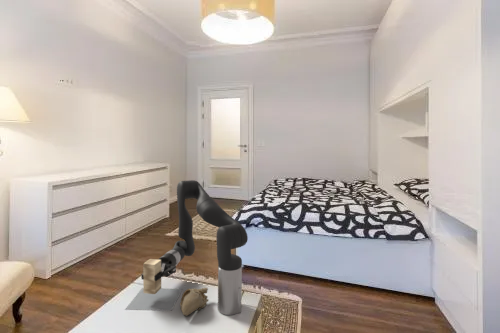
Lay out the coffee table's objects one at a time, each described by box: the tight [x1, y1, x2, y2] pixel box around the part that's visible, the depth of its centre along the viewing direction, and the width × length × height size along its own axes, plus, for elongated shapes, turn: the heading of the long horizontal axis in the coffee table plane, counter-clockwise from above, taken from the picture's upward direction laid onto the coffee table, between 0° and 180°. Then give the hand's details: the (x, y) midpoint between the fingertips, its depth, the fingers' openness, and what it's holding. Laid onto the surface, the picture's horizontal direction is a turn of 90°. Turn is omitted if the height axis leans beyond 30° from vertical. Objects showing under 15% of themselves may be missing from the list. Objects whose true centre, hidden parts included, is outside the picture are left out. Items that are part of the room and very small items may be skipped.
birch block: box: [142, 258, 162, 294], centre depth 107 cm, size 5×5×12 cm
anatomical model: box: [179, 287, 209, 317], centre depth 103 cm, size 7×11×15 cm
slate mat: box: [124, 287, 183, 312], centre depth 109 cm, size 18×16×1 cm
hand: (149, 277), depth 105 cm, fingers closed on birch block, 5 cm apart
